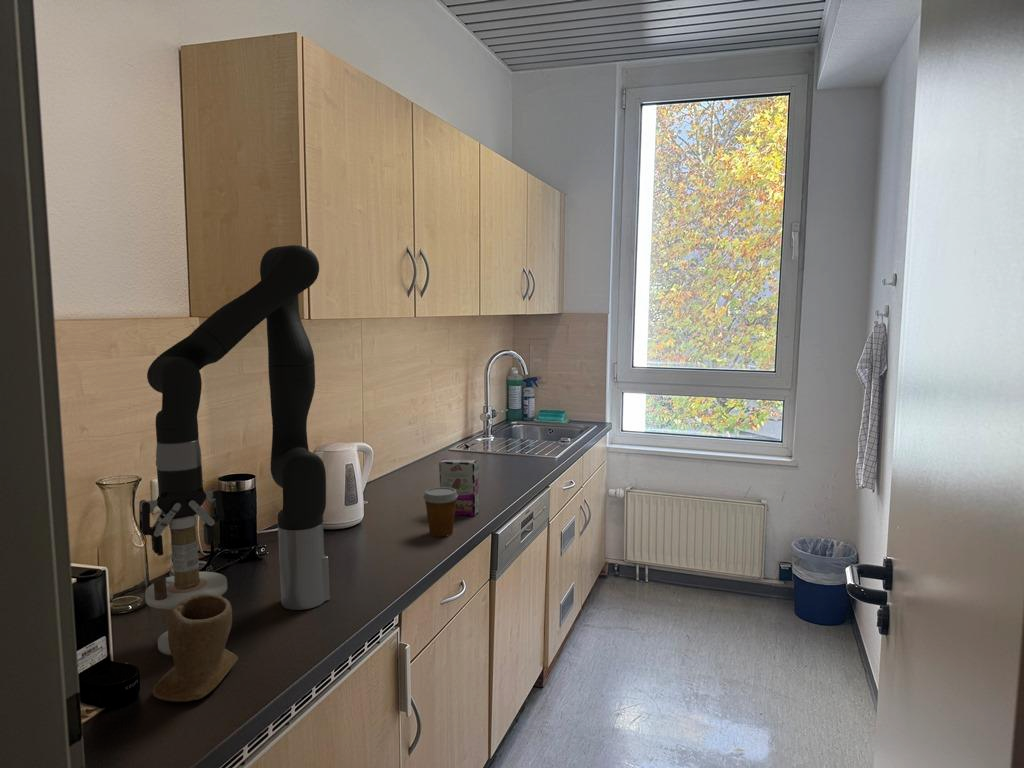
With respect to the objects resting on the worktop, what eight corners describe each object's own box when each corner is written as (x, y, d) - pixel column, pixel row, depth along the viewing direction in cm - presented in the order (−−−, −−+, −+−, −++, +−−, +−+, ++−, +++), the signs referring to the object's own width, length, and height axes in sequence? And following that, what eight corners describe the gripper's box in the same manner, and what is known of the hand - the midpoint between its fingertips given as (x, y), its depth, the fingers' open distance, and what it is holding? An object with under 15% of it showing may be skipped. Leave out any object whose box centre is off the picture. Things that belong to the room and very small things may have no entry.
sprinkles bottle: (194, 578, 136) (189, 510, 135) (204, 584, 133) (199, 515, 132) (169, 585, 133) (164, 516, 131) (179, 591, 130) (174, 521, 128)
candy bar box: (479, 512, 216) (479, 459, 214) (475, 516, 211) (474, 463, 209) (445, 509, 219) (444, 457, 217) (439, 514, 214) (438, 461, 212)
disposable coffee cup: (450, 540, 190) (449, 497, 189) (418, 537, 193) (417, 494, 192) (463, 529, 199) (463, 488, 198) (433, 526, 202) (432, 485, 201)
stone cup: (213, 710, 112) (208, 619, 110) (142, 706, 113) (136, 616, 111) (257, 661, 127) (253, 581, 125) (194, 658, 128) (189, 579, 126)
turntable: (187, 575, 142) (186, 551, 142) (243, 584, 137) (241, 559, 137) (127, 602, 129) (125, 576, 129) (186, 614, 124) (185, 586, 124)
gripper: (141, 474, 123) (148, 564, 125) (225, 462, 132) (230, 546, 134) (131, 466, 129) (137, 552, 131) (212, 455, 138) (217, 536, 140)
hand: (184, 549), depth 132 cm, fingers open, 8 cm apart
